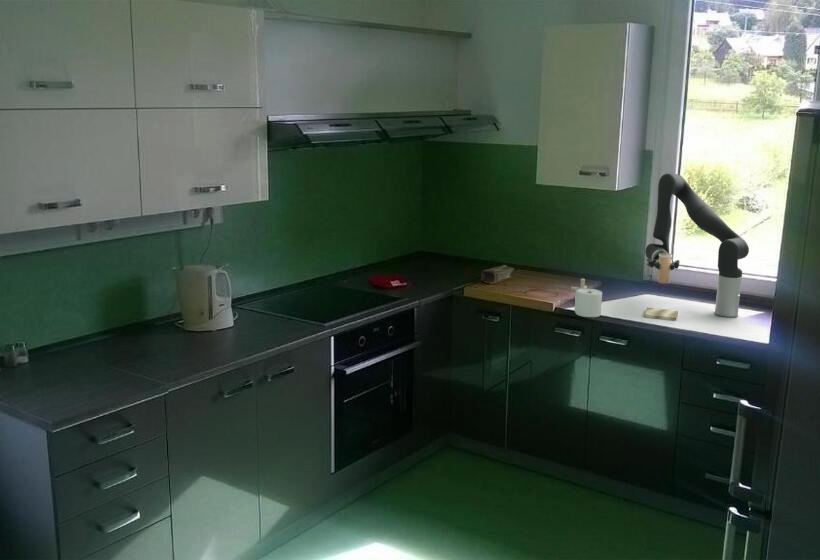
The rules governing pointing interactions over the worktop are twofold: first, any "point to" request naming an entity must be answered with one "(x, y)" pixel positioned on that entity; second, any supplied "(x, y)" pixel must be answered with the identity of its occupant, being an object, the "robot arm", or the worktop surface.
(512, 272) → the beverage carton
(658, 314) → the birch board
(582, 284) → the pipe connector
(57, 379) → the worktop surface
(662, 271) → the terracotta jar
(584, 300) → the toilet tissue
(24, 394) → the worktop surface
